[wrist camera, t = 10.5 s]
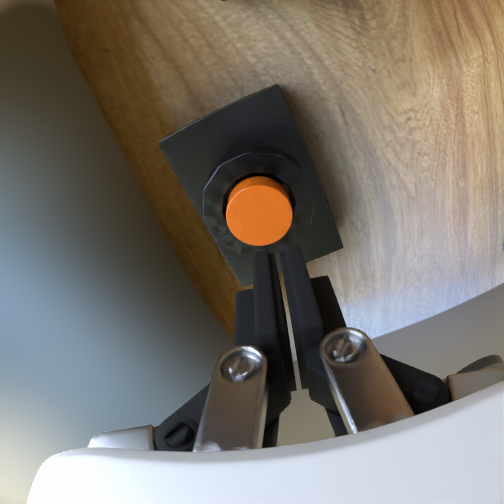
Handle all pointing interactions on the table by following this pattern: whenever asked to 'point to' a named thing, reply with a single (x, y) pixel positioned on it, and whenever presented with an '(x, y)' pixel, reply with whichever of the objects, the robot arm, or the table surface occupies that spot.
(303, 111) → the table surface
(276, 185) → the button
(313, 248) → the button block
